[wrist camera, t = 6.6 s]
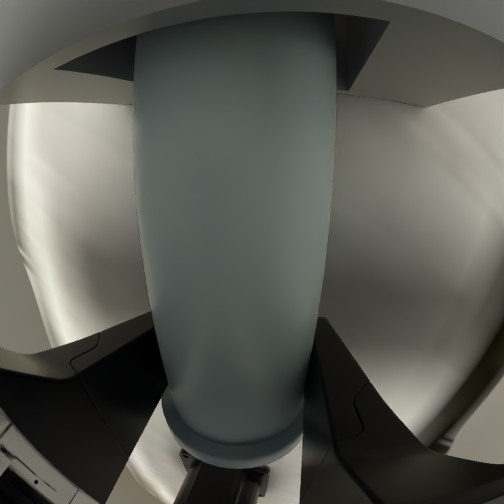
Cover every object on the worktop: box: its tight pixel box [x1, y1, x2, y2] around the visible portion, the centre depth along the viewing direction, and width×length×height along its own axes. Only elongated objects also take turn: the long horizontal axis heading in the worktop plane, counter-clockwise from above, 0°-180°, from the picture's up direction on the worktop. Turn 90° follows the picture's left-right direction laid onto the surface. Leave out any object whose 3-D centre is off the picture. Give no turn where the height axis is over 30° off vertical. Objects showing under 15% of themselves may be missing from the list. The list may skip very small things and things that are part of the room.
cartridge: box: [133, 12, 336, 469], centre depth 6 cm, size 12×5×5 cm, turn 179°
